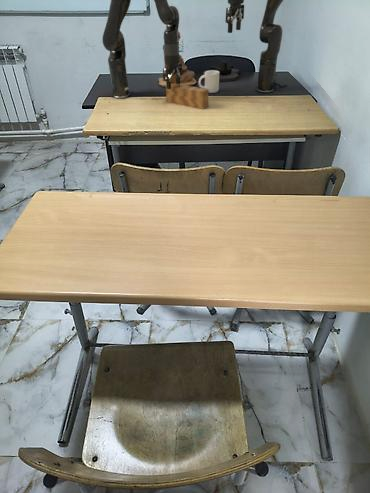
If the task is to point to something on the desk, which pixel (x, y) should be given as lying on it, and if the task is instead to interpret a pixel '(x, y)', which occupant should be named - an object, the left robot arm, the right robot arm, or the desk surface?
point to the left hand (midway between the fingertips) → (173, 86)
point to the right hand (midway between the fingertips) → (234, 31)
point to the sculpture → (187, 75)
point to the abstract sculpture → (225, 71)
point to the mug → (210, 81)
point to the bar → (187, 95)
